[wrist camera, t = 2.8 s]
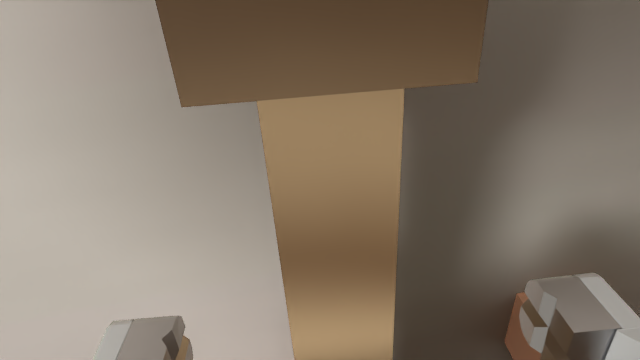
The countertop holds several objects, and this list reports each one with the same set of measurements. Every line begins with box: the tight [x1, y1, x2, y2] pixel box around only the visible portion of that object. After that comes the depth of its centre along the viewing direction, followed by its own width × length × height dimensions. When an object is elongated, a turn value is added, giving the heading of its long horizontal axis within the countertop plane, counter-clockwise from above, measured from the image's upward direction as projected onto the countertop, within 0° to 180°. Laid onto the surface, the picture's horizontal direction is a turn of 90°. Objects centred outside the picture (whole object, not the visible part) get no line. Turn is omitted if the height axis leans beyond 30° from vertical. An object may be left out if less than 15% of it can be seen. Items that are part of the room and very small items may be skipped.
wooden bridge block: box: [155, 0, 488, 360], centre depth 15 cm, size 26×9×8 cm, turn 4°
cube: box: [504, 292, 541, 360], centre depth 22 cm, size 4×4×4 cm
